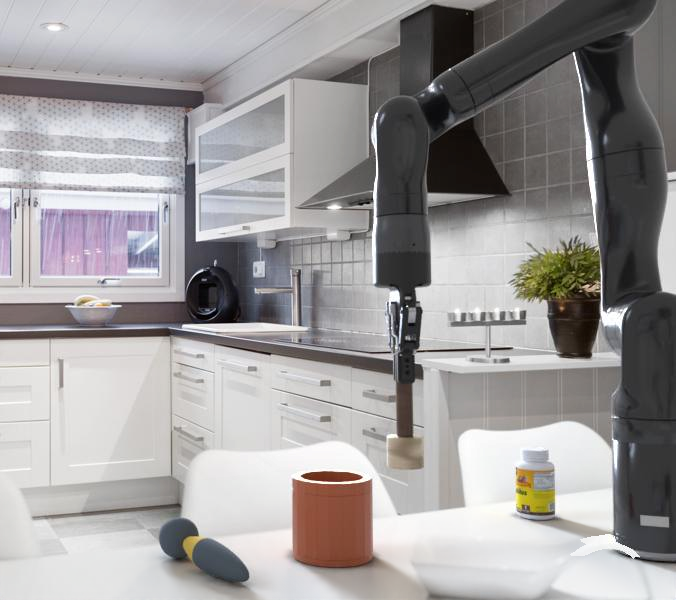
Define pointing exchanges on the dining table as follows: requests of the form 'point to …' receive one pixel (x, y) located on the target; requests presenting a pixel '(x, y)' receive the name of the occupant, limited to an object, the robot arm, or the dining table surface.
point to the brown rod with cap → (404, 432)
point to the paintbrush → (201, 550)
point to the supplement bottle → (535, 484)
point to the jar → (332, 518)
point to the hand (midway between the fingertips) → (404, 382)
